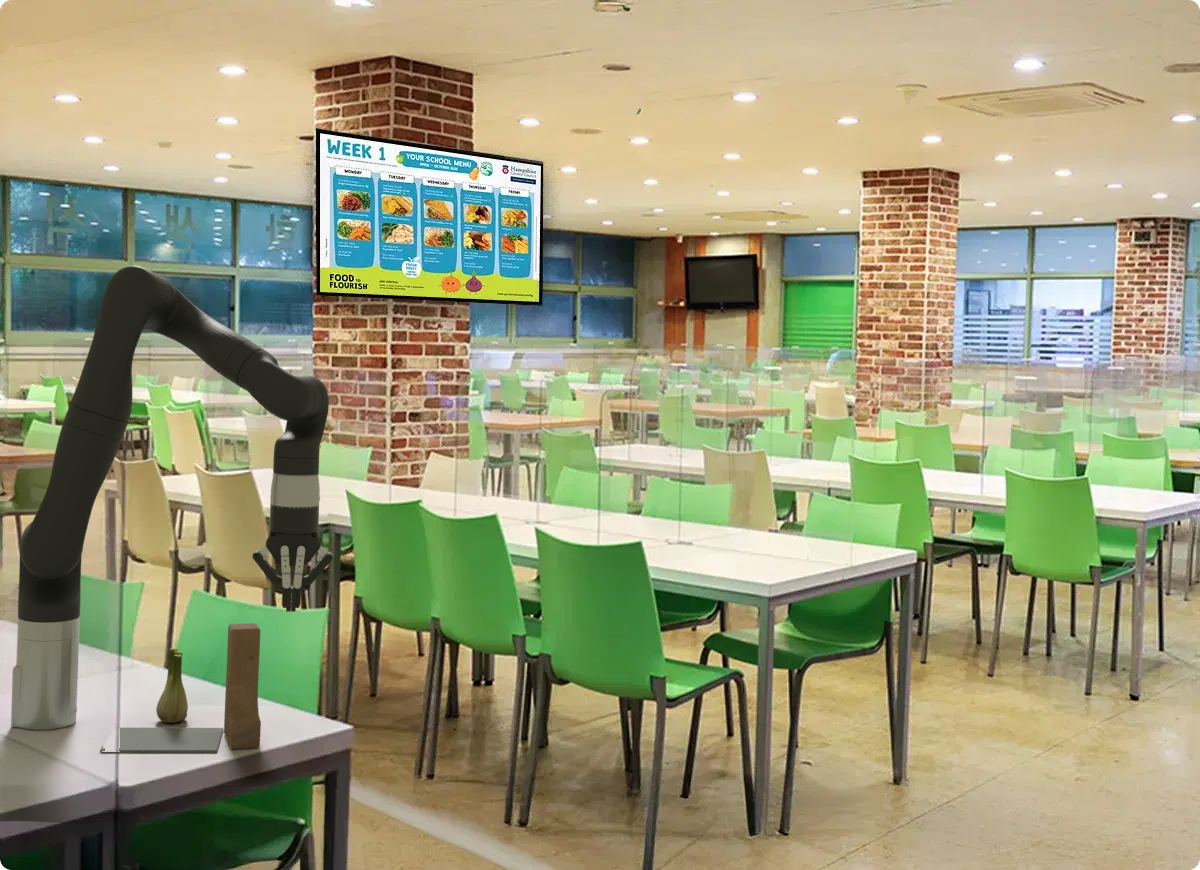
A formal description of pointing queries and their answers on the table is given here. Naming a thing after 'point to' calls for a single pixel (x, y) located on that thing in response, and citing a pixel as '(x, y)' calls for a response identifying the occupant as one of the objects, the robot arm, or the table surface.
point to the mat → (169, 740)
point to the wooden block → (242, 687)
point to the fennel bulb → (173, 692)
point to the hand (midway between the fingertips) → (291, 610)
